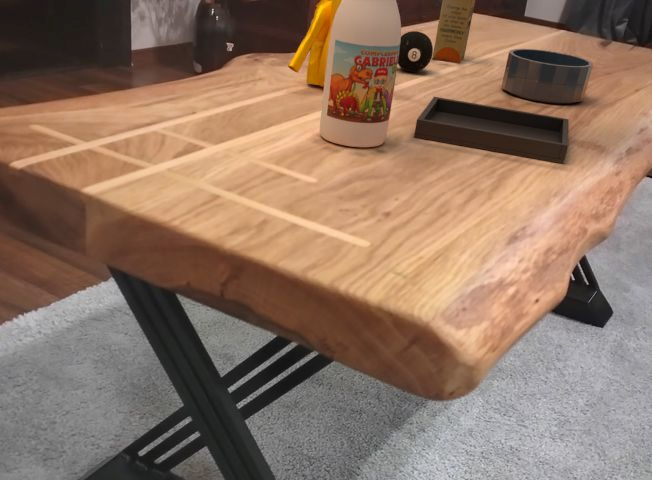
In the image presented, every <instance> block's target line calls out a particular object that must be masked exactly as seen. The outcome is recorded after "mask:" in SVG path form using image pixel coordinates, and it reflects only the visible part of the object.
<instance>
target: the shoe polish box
mask: <svg viewBox="0 0 652 480" xmlns="http://www.w3.org/2000/svg"><path fill="white" fill-rule="evenodd" d="M475 5H476V0H442V2H441V7H440V13H439V18H438V24H437V29H436V35H435V40H434V41H435V42H434V47H433V54H432V58H431V60H435V61H436V60H437V61H442V62H449V63H454V64H461V63H462V62H463V61H464V60H465V55H466V50H467V46H468V40H469V35H470V31H471V26H472V19H473V14H474V11H475Z"/></svg>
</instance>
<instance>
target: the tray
mask: <svg viewBox="0 0 652 480" xmlns="http://www.w3.org/2000/svg"><path fill="white" fill-rule="evenodd" d="M569 123H570V119H569V118H563V117H558V116H552V115H546V114H540V113H534V112H529V111H523V110H516V109H510V108H506V107H505V108H504V107H499V106H492V105H487V104H481V103H474V102H467V101H462V100H457V99H451V98H445V97H439V96H433V98H432V99H431V100H430V101H429V103H428V104H427V106H426V107H425V108H424V109H423V111H422V112H421V113H420V115H419V116H418V118H417V119H416V123H415V128H414V135H413V137H414V138H417V139H423V140H427V141H434V142H439V143H445V144H450V145H455V146H462V147H468V148H473V149H479V150H484V151H491V152H496V153H501V154H507V155H512V156H517V157H524V158H529V159H536V160H540V161H546V162H551V163H557V164H564V163H565V159H566V155H567V152H568V148H569V129H570V127H569V126H570V125H569Z"/></svg>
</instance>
